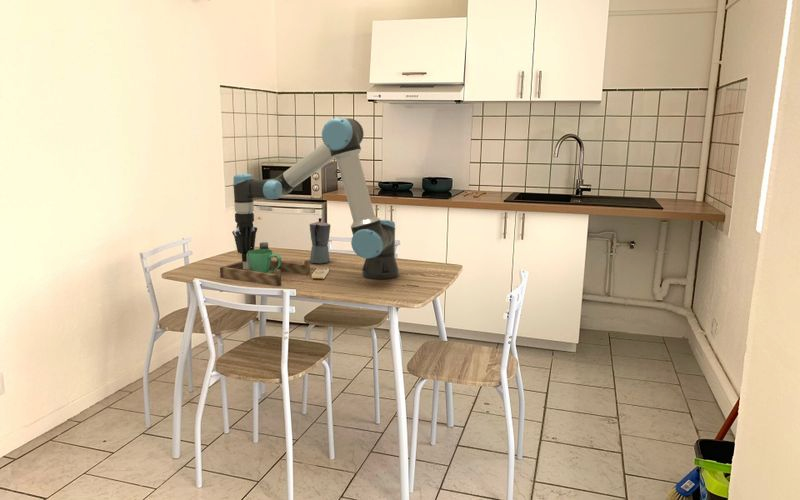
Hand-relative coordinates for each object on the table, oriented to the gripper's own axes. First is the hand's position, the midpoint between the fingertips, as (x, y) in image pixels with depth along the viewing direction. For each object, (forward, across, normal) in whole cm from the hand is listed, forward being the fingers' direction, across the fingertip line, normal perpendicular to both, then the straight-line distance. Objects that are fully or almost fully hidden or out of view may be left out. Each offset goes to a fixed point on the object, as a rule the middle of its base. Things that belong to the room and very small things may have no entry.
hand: (246, 268), depth 246 cm
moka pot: (+2, -32, +15) cm, 35 cm away
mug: (+2, 0, +10) cm, 10 cm away
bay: (+2, -2, +10) cm, 10 cm away
